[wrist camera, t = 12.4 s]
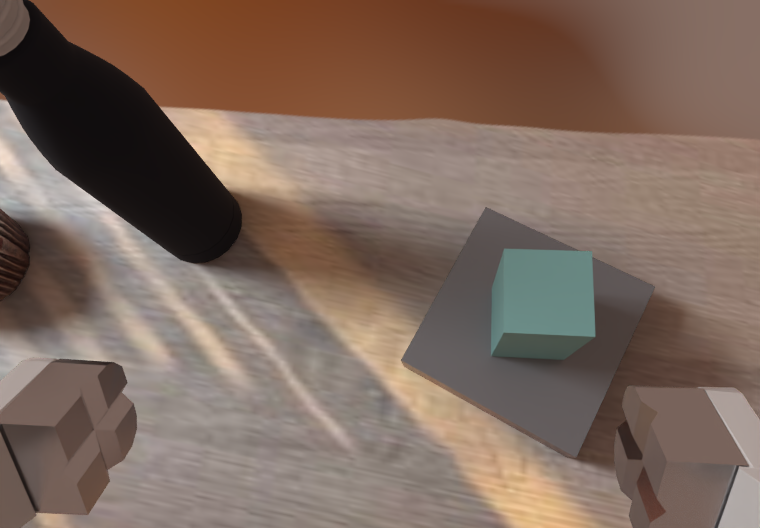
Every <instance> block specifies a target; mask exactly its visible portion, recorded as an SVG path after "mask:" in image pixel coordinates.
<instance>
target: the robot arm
mask: <svg viewBox="0 0 760 528" xmlns="http://www.w3.org/2000/svg"><path fill="white" fill-rule="evenodd" d="M126 384H127V380H126V377H125V374H124V371H123V368H122V366H120V365H118V364H116V363H114V362H101V361H86V360H71V359H50V358H30V359H26V360H23V361H21V362H20V363H19V364H18V365H17V366H16V367H15V368H14V369H13V370H12V371H11V372H10V373H9V374H8V375H7V376H5V377H4V378H3V379H2V380H1V381H0V528H21V527H22V526H23V525H25V524H26V523H27V522H29V521H30V520H31V519H33V518H34V517H35V516H36V513H53V514H77V515H88V514H89V512H90V511H91V509H92V508H93V506H94V505H95V503H96V502H97V500H98V499H99V497H100V496H101V494H102V493H103V491H104V489H105V488H106V486H107V485H108V483H109V482H110V479H109V473H108V469H110V468H112V467H113V466H115V465H116V464H118V463H119V462H121V461H123V460H124V458H125V457H126V455H127V454H128V452H129V450H130V449H131V447H132V445H133V441H134V437H135V434H136V430H137V415H136V411H135V407H134V403H132V402H131V401H130V400H129V399H128V398H127V397H126V396H125V395H124V394H123V393H122V391H123V389H124V388H125V386H126ZM622 408H623V411H624V414H625V416H626V419H627V420H626V421H625V422H624V423H623V424H621V425H620V426H619V427H618V428H617V431H616V437H615V443H614V464H615V470H616V476H617V479H618V483H619V486H620V489H621V491H622V492H623V493H624V494H625V495H626V496H628V497H629V498H630V499H631V500H632V504H631V508H630V512H629V518H630V521H631V524H632V527H633V528H760V419H759V418H758V416H757V415H756V413H755V412H754V410H753V409H752V407H751V406H750V404H749V403H748V401H747V400H746V398H745V397H744V395H743V394H742V393H741V392H740V391H739V390H737V389H736V388H733V387H698V388H690V387H664V386H638V385H628V387H627V389H626V391H625V393H624V397H623V402H622Z"/></svg>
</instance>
